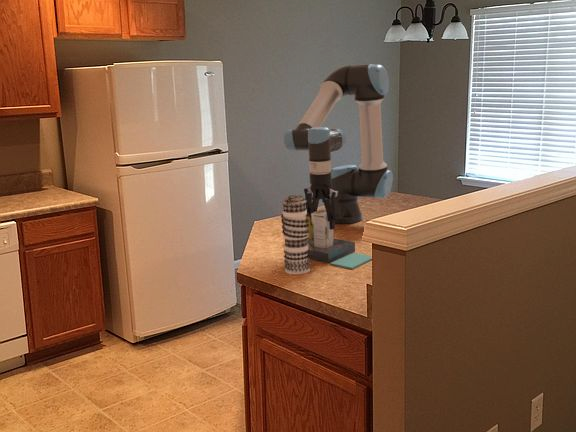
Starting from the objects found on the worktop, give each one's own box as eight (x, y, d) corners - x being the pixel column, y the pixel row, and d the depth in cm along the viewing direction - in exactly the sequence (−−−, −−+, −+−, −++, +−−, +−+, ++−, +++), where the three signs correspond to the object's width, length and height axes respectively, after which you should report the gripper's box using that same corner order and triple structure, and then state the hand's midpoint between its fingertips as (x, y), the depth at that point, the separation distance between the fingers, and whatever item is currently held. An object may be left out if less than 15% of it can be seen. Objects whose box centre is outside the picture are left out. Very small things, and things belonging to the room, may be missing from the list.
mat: (353, 254, 225) (353, 252, 224) (375, 258, 219) (375, 256, 219) (330, 264, 214) (330, 263, 214) (352, 269, 209) (352, 267, 208)
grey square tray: (319, 244, 238) (319, 235, 237) (355, 251, 228) (354, 242, 227) (292, 255, 226) (292, 246, 225) (328, 263, 216) (328, 253, 215)
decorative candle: (293, 264, 217) (290, 192, 211) (316, 268, 212) (313, 195, 206) (278, 272, 210) (274, 198, 204) (301, 276, 204) (298, 200, 198)
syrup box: (320, 247, 230) (319, 209, 227) (334, 249, 227) (333, 210, 224) (312, 252, 226) (310, 212, 223) (326, 254, 223) (324, 214, 219)
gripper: (292, 172, 223) (295, 235, 229) (336, 176, 211) (338, 243, 216) (305, 168, 228) (308, 230, 234) (349, 172, 216) (350, 237, 222)
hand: (322, 236), depth 225 cm, fingers closed on syrup box, 6 cm apart
